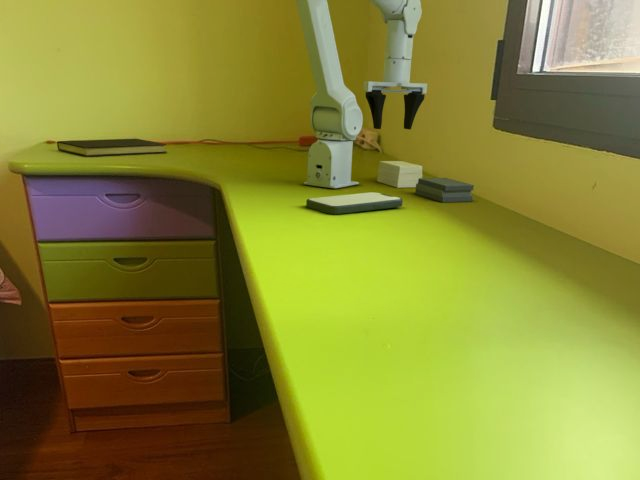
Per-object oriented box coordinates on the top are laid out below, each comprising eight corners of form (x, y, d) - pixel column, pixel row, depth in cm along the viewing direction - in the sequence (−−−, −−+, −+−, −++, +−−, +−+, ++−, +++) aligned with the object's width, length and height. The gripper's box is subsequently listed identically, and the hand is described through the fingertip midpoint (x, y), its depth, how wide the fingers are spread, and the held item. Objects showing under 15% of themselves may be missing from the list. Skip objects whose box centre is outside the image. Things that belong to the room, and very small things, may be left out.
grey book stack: (472, 201, 133) (474, 184, 131) (442, 202, 130) (444, 185, 129) (443, 193, 141) (445, 177, 139) (415, 193, 138) (416, 178, 137)
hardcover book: (166, 153, 185) (165, 143, 184) (86, 156, 171) (85, 147, 170) (135, 147, 196) (135, 138, 194) (57, 150, 181) (56, 140, 180)
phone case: (332, 217, 114) (405, 208, 122) (332, 206, 113) (406, 198, 122) (303, 208, 120) (374, 200, 129) (303, 198, 120) (374, 191, 128)
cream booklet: (422, 173, 145) (422, 166, 145) (399, 173, 143) (399, 166, 143) (400, 167, 153) (401, 160, 152) (378, 168, 151) (379, 161, 150)
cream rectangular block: (421, 187, 147) (423, 173, 145) (397, 187, 145) (398, 173, 143) (399, 180, 154) (400, 167, 153) (376, 181, 152) (377, 167, 151)
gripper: (376, 57, 140) (371, 130, 146) (437, 60, 145) (430, 130, 151) (360, 57, 145) (356, 127, 152) (419, 60, 151) (413, 128, 157)
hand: (392, 129), depth 152 cm, fingers open, 7 cm apart
